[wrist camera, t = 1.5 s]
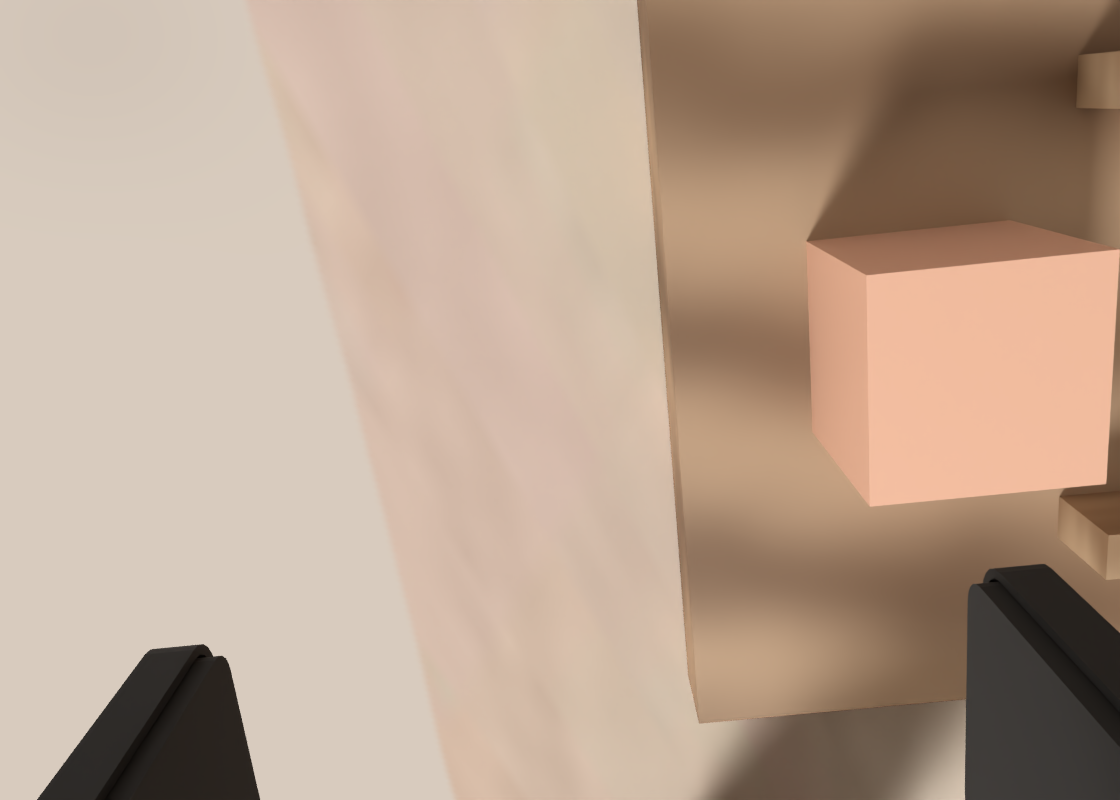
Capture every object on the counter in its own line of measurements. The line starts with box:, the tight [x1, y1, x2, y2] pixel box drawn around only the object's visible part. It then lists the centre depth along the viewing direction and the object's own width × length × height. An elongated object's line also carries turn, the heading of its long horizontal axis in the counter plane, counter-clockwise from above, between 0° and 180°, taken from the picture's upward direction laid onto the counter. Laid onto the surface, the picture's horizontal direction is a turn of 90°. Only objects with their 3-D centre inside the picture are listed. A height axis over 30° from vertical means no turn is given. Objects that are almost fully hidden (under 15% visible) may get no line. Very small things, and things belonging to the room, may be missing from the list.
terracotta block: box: [806, 220, 1120, 507], centre depth 23 cm, size 5×5×5 cm
